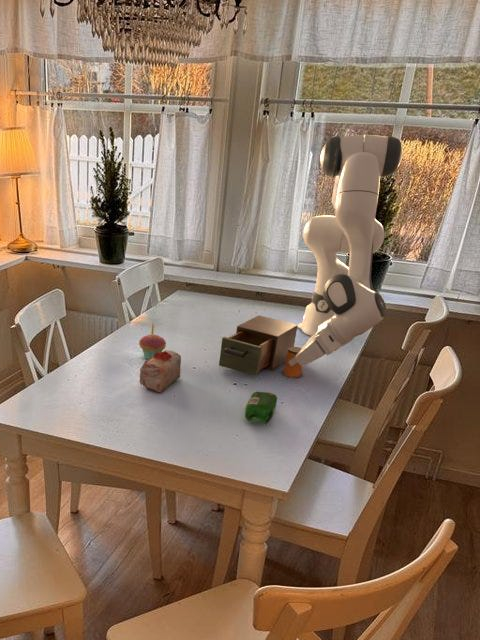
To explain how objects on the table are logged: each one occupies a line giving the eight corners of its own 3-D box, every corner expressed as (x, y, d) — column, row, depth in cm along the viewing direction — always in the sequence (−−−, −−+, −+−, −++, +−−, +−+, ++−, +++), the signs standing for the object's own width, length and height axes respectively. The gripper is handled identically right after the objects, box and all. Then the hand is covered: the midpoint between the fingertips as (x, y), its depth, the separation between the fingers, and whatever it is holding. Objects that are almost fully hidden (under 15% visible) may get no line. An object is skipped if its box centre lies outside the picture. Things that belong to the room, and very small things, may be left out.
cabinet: (271, 370, 202) (277, 336, 197) (232, 358, 209) (237, 326, 204) (291, 357, 213) (297, 324, 207) (253, 346, 219) (258, 315, 214)
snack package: (240, 426, 169) (243, 408, 166) (251, 402, 181) (254, 385, 178) (268, 432, 167) (271, 413, 164) (276, 407, 179) (280, 390, 176)
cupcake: (162, 363, 203) (165, 326, 197) (135, 360, 205) (137, 323, 198) (166, 354, 211) (169, 317, 204) (140, 351, 212) (142, 314, 206)
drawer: (249, 380, 192) (253, 351, 188) (212, 369, 199) (215, 341, 194) (275, 363, 205) (280, 336, 200) (239, 353, 211) (243, 326, 206)
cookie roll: (288, 369, 203) (292, 345, 199) (303, 373, 201) (307, 349, 197) (281, 374, 200) (285, 349, 196) (296, 378, 197) (301, 353, 193)
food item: (161, 395, 183) (164, 362, 178) (136, 389, 186) (138, 356, 181) (182, 379, 193) (185, 347, 188) (158, 373, 196) (160, 342, 191)
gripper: (333, 316, 197) (295, 341, 206) (318, 335, 181) (277, 362, 190) (344, 333, 198) (306, 357, 207) (331, 354, 182) (290, 379, 191)
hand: (292, 360), depth 198 cm, fingers closed on cookie roll, 5 cm apart
